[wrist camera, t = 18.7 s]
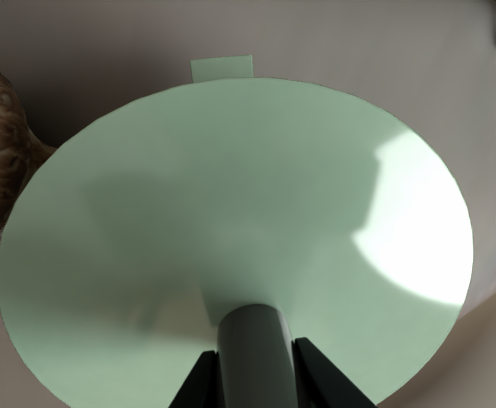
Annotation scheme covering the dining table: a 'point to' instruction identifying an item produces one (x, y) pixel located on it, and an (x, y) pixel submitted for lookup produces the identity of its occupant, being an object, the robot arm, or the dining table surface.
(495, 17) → the dining table surface
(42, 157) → the mushroom
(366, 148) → the lid
